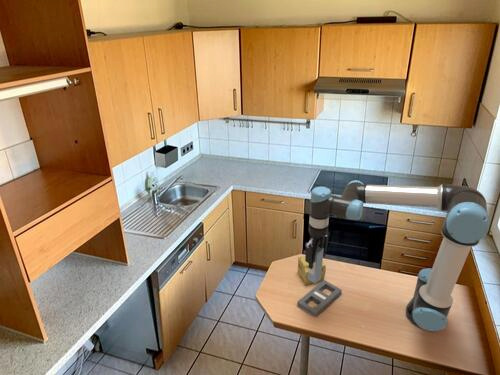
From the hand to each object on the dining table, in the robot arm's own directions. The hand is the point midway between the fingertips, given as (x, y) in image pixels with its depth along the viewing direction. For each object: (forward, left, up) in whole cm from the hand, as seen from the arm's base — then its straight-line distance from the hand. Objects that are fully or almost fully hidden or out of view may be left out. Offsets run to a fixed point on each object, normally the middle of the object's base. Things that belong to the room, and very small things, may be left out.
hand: (315, 270), depth 160 cm
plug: (0, 0, -5) cm, 5 cm away
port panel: (0, -5, -20) cm, 20 cm away
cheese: (+12, -15, -20) cm, 28 cm away
